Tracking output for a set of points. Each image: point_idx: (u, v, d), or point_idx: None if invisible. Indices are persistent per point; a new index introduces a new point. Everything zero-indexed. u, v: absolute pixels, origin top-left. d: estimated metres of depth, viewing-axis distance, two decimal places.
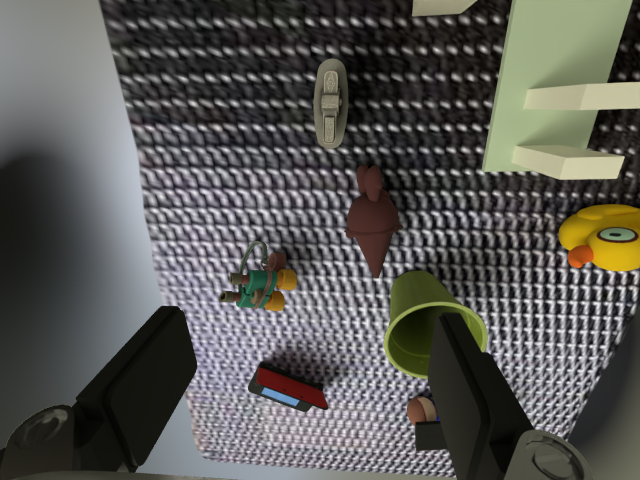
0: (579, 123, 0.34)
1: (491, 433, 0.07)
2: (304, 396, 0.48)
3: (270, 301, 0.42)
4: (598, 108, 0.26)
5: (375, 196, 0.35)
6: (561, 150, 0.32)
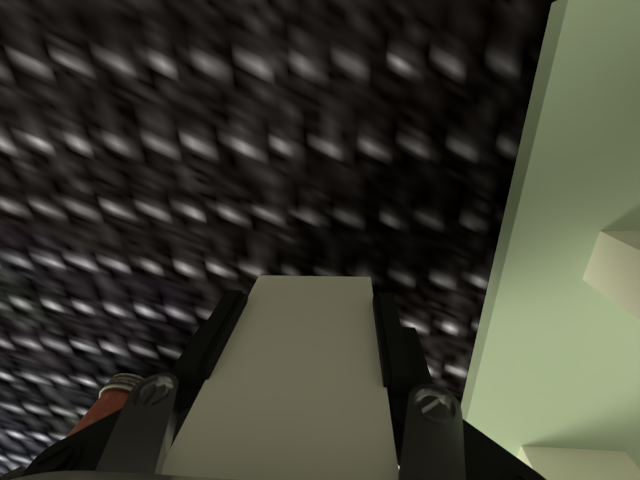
0: None
1: (392, 388, 0.08)
2: None
3: None
4: None
5: None
6: None
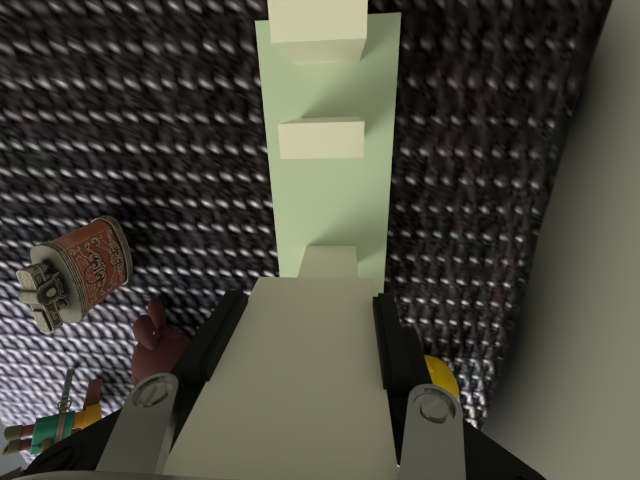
0: (369, 278, 0.32)
1: (392, 388, 0.08)
2: None
3: None
4: None
5: (147, 346, 0.32)
6: None
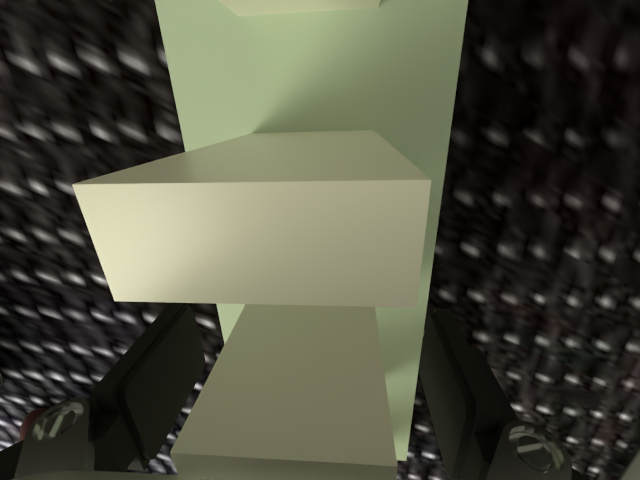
0: None
1: (476, 424, 0.07)
2: None
3: None
4: None
5: None
6: None
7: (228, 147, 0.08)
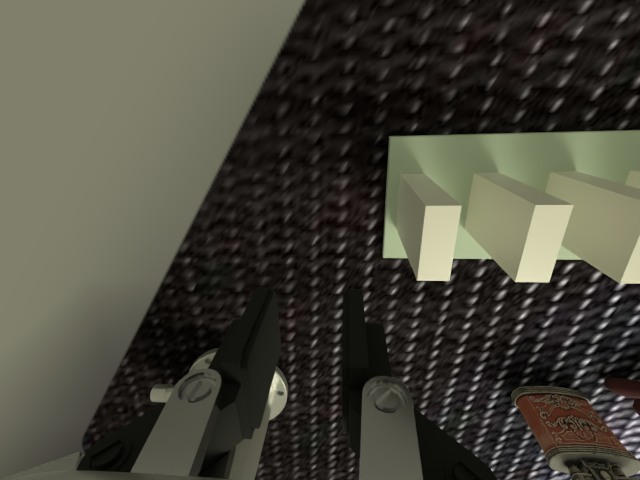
0: None
1: (350, 380, 0.08)
2: None
3: None
4: None
5: None
6: None
7: (489, 243, 0.22)
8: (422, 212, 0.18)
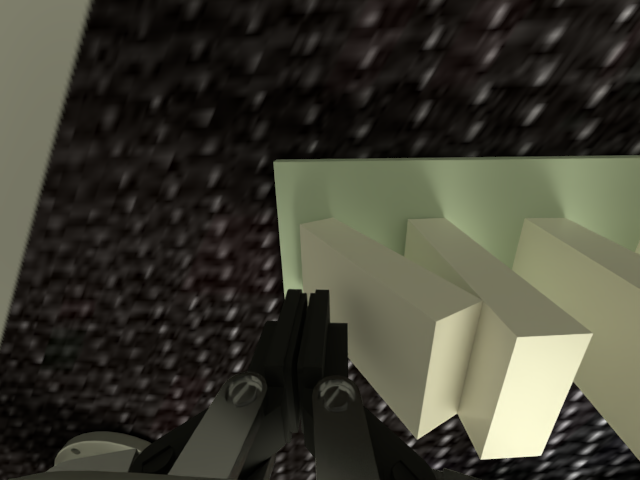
0: None
1: (305, 379, 0.08)
2: None
3: None
4: None
5: None
6: None
7: None
8: (418, 326, 0.09)
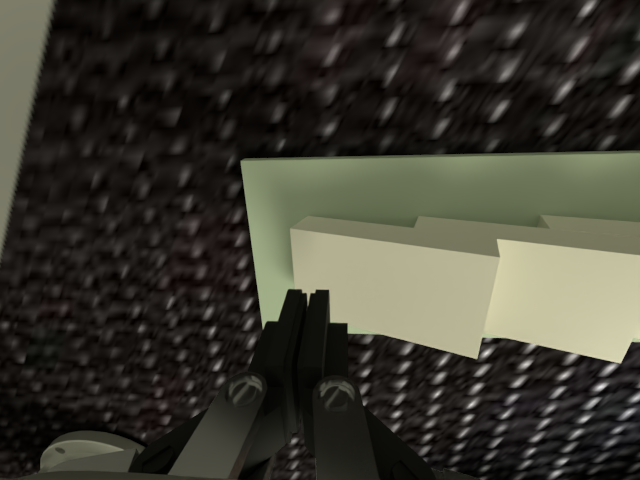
0: None
1: (305, 379, 0.08)
2: None
3: None
4: None
5: None
6: None
7: (513, 325, 0.14)
8: (479, 268, 0.12)
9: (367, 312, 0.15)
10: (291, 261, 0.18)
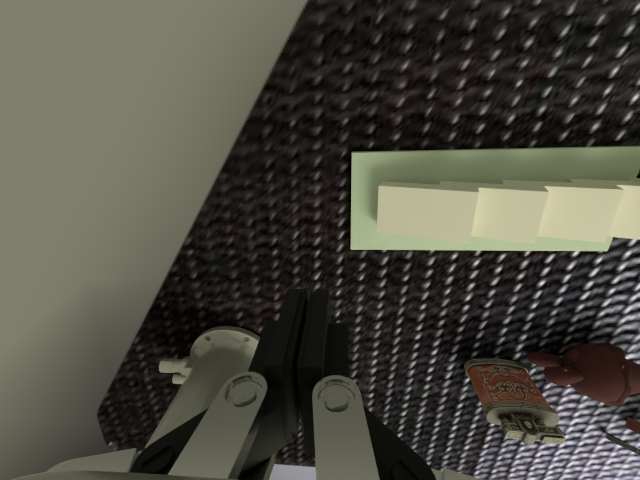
0: (583, 164, 0.30)
1: (305, 379, 0.08)
2: None
3: None
4: None
5: (578, 380, 0.35)
6: None
7: (487, 230, 0.30)
8: (470, 198, 0.27)
9: (416, 226, 0.30)
10: (371, 206, 0.33)
